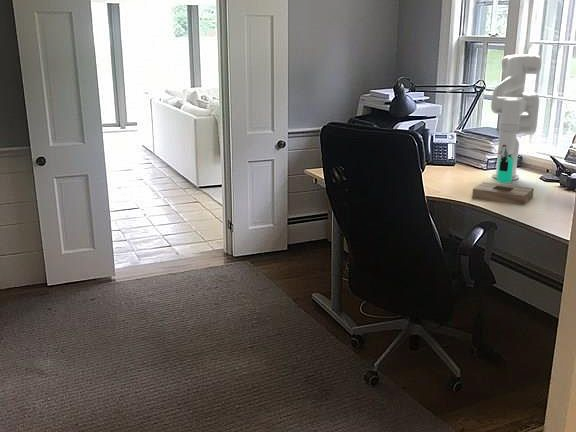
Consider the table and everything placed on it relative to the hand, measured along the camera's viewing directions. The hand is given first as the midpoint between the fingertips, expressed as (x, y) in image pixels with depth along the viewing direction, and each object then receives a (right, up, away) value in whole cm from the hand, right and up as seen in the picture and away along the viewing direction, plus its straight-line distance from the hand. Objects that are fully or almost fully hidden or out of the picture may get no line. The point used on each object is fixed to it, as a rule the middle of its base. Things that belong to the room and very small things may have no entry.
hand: (505, 169), depth 266 cm
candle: (0, -5, +2) cm, 6 cm away
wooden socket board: (0, -12, +4) cm, 13 cm away
